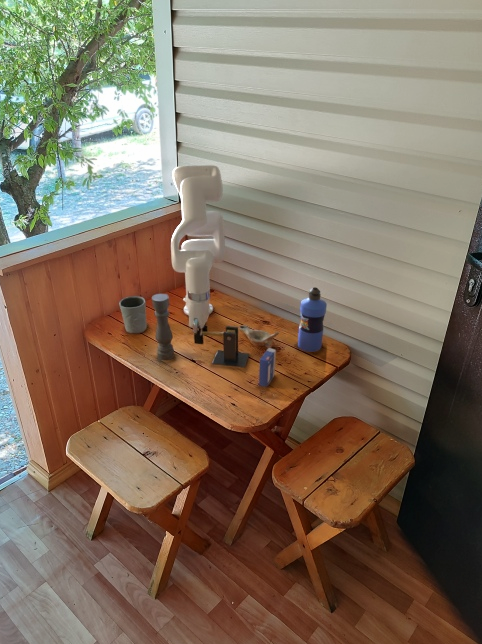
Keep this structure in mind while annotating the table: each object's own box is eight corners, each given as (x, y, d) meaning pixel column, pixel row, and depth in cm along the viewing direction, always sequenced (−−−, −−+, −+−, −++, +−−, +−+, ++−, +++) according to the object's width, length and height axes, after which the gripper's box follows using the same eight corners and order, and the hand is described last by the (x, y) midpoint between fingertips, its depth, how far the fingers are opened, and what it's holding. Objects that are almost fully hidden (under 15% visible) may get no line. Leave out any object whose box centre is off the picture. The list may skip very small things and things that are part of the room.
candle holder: (155, 355, 177) (149, 295, 164) (172, 351, 180) (166, 292, 166) (160, 364, 173) (153, 302, 159) (176, 360, 175) (171, 299, 161)
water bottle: (304, 356, 178) (310, 296, 164) (292, 343, 185) (297, 285, 171) (326, 351, 181) (333, 291, 167) (313, 339, 188) (319, 281, 174)
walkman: (266, 389, 161) (267, 360, 154) (258, 387, 162) (259, 358, 155) (274, 377, 167) (276, 348, 160) (267, 375, 168) (268, 346, 161)
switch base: (212, 366, 172) (211, 334, 165) (218, 352, 180) (217, 321, 172) (244, 369, 170) (245, 338, 163) (249, 356, 178) (249, 325, 170)
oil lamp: (268, 358, 176) (269, 335, 171) (231, 335, 190) (231, 313, 184) (284, 350, 181) (286, 327, 176) (248, 328, 195) (248, 306, 189)
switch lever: (197, 339, 169) (196, 333, 168) (201, 332, 174) (200, 326, 172) (233, 341, 167) (233, 335, 166) (236, 333, 171) (235, 327, 170)
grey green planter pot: (140, 336, 189) (137, 309, 182) (118, 331, 191) (114, 305, 185) (152, 324, 197) (149, 298, 190) (131, 320, 199) (127, 294, 193)
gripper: (195, 282, 170) (197, 326, 180) (180, 304, 156) (184, 350, 166) (215, 284, 168) (216, 328, 179) (203, 306, 155) (205, 353, 165)
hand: (201, 338), depth 172 cm, fingers closed on switch lever, 5 cm apart
